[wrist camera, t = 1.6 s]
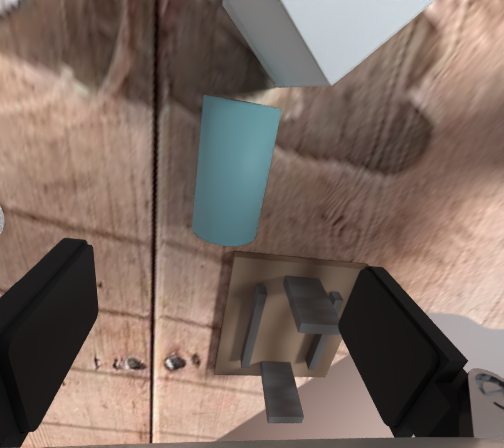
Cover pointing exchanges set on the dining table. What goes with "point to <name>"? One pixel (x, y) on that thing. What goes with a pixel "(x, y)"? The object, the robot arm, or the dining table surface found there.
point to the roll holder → (283, 323)
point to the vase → (1, 220)
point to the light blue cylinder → (232, 169)
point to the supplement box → (317, 34)
